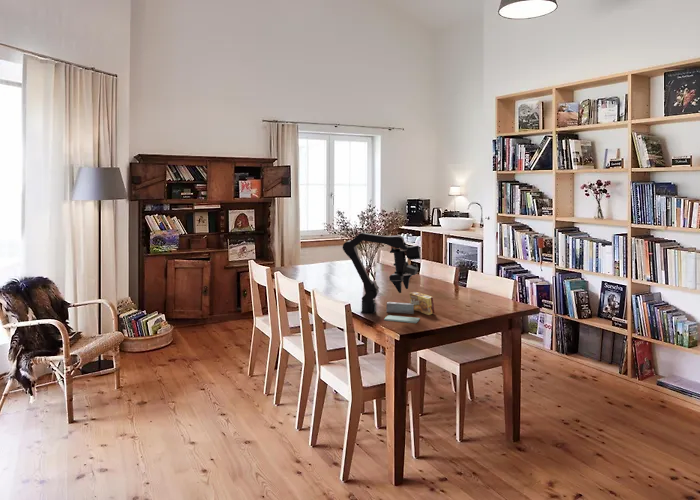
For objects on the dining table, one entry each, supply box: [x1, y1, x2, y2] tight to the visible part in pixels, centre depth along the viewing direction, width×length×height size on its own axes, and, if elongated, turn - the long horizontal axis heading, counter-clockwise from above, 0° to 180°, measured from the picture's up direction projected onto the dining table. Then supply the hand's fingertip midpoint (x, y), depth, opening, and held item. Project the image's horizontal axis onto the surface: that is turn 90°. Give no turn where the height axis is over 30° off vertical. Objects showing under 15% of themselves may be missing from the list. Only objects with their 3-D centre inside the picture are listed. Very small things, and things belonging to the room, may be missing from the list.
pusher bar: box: [385, 301, 415, 315], centre depth 278 cm, size 14×3×5 cm, turn 75°
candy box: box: [408, 291, 435, 316], centre depth 280 cm, size 9×4×15 cm
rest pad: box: [383, 314, 421, 324], centre depth 264 cm, size 16×7×1 cm, turn 71°
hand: (403, 290), depth 274 cm, fingers open, 9 cm apart
